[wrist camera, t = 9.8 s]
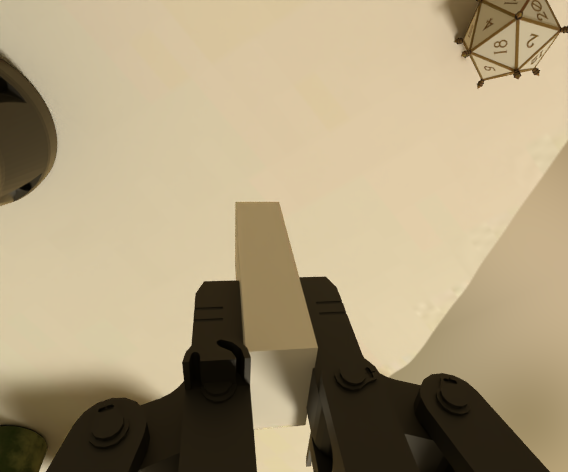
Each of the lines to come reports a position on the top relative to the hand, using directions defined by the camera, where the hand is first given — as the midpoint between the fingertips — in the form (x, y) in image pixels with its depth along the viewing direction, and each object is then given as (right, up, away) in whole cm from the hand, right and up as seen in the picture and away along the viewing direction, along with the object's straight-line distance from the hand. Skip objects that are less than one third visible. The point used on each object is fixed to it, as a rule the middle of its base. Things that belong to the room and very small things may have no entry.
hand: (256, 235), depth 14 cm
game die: (+21, +20, +25) cm, 39 cm away
